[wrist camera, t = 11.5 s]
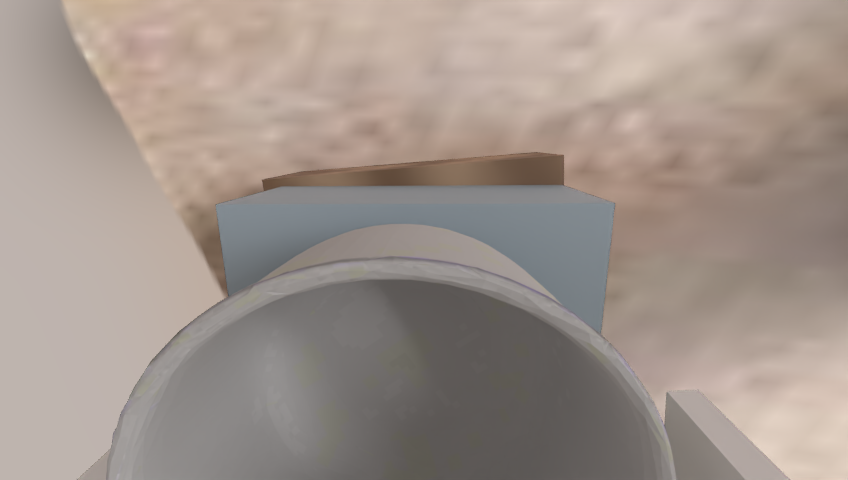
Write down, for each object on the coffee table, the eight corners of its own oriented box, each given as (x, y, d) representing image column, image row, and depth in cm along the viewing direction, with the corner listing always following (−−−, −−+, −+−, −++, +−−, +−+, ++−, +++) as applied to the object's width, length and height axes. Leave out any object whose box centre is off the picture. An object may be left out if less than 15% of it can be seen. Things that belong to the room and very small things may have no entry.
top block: (562, 184, 19) (615, 203, 13) (543, 428, 22) (579, 527, 17) (282, 186, 20) (215, 204, 14) (305, 422, 23) (259, 516, 17)
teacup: (236, 235, 14) (-14, 347, 6) (534, 164, 13) (670, 196, 5) (343, 532, 17) (264, 849, 10) (590, 494, 16) (727, 816, 8)
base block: (535, 152, 25) (563, 155, 19) (537, 363, 28) (562, 421, 22) (303, 171, 25) (262, 179, 20) (334, 373, 29) (307, 431, 23)
